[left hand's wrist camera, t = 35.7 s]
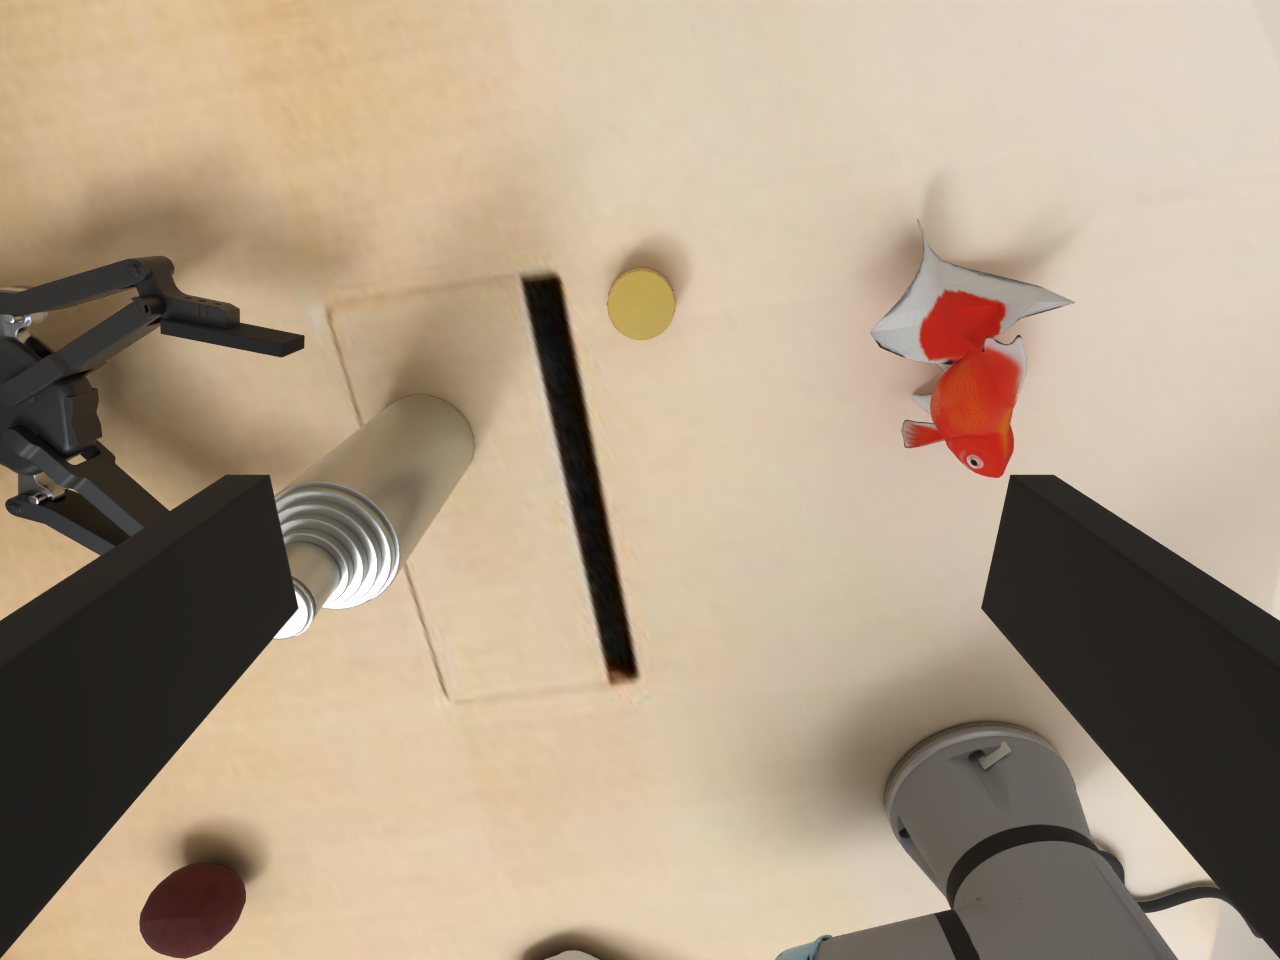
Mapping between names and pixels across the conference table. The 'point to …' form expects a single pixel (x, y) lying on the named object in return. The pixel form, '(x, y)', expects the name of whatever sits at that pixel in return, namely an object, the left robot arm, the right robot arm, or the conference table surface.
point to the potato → (192, 910)
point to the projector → (572, 956)
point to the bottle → (370, 504)
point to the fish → (965, 356)
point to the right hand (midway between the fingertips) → (292, 456)
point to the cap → (641, 304)
